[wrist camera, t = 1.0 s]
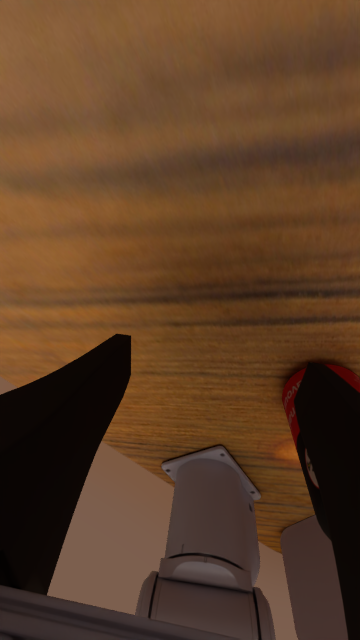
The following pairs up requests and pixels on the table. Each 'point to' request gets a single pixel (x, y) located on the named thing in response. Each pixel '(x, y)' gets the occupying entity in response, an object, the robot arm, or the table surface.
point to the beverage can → (304, 459)
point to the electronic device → (313, 582)
